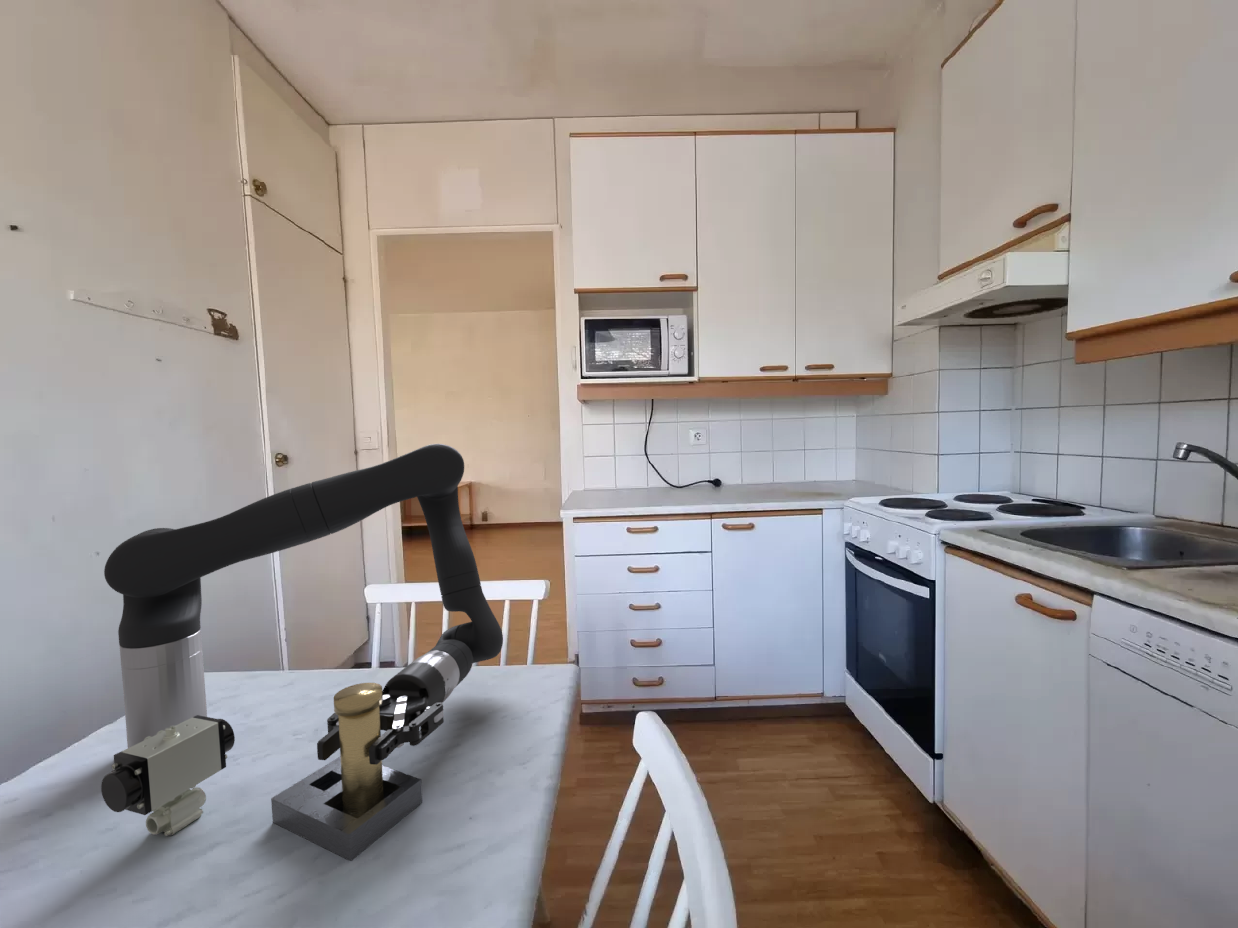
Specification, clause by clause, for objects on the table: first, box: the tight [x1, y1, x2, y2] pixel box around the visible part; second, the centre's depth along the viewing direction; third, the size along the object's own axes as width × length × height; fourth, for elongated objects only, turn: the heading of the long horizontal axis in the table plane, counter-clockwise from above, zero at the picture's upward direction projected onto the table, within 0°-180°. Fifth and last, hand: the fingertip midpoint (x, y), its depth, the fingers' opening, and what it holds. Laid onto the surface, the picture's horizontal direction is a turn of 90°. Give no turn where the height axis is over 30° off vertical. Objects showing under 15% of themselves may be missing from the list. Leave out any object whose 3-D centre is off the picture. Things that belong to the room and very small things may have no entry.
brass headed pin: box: [333, 682, 384, 819], centre depth 63 cm, size 5×5×15 cm
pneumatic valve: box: [100, 715, 236, 837], centre depth 63 cm, size 6×12×12 cm, turn 162°
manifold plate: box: [270, 756, 423, 862], centre depth 65 cm, size 14×10×3 cm
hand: (346, 754), depth 61 cm, fingers open, 6 cm apart
